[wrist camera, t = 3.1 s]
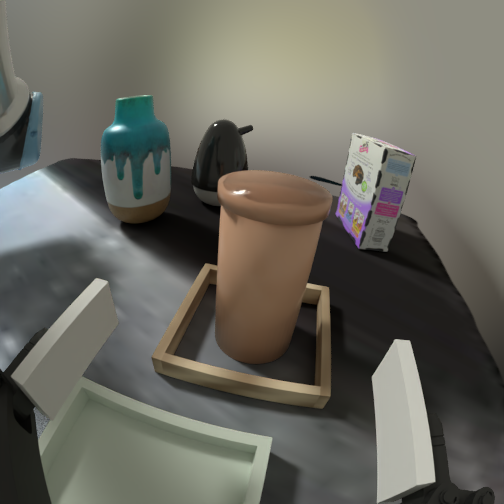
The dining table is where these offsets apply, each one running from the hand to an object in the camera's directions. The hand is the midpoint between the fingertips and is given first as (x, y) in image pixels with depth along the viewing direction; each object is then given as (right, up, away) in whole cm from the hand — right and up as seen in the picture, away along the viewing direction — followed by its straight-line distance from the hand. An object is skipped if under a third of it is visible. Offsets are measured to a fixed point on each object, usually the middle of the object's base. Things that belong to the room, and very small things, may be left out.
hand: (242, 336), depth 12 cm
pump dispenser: (-6, +13, +41) cm, 43 cm away
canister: (0, -4, +14) cm, 14 cm away
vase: (-17, +9, +31) cm, 37 cm away
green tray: (-7, -12, -1) cm, 14 cm away
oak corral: (0, -4, +14) cm, 14 cm away
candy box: (+19, +7, +36) cm, 42 cm away
